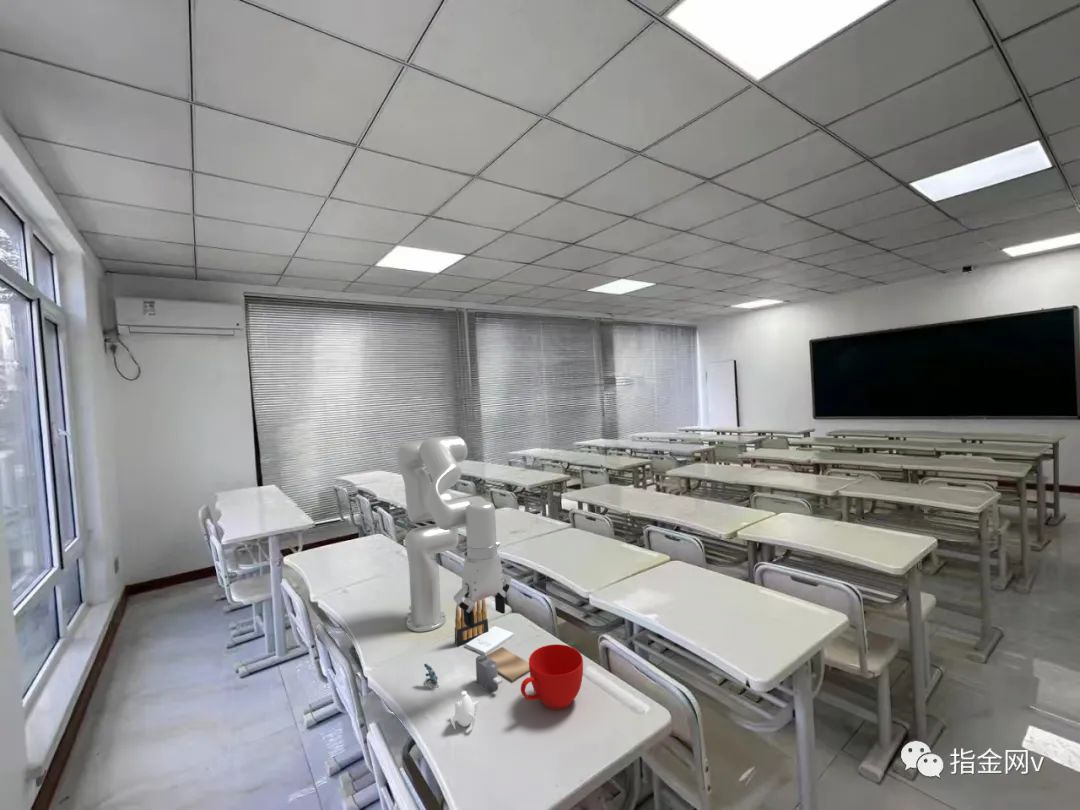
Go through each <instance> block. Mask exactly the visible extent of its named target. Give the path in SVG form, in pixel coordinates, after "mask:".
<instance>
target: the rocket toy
mask: <svg viewBox="0 0 1080 810" xmlns="http://www.w3.org/2000/svg"><path fill="white" fill-rule="evenodd" d="M457 699H458V700H456V702H454V708H455V710H454V716H452V717H451V718H450V722H451V724H452V726H453V729H454V730H456V723H458V725H460V726H461V727H463V728H466V727H468V726H469V725H470V724H472V725H471V729H473V728H474V725H475V721H476V714H477V711H478V707H479V701H478V700H477V701H475V702H473V699H472V698H471V697H470V695H469V694H468V692H467V690H463V691H461V692H460V695H459V697H458V698H457ZM455 721H456V723H455Z"/></svg>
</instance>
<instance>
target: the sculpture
mask: <svg viewBox="0 0 1080 810" xmlns="http://www.w3.org/2000/svg"><path fill="white" fill-rule="evenodd" d="M423 666H424V668H425V669H426V670H427V673H425V681H424V683H425V684H424V685H425V686H426V685H427V686H426V687H428V686H430V688H432V689H433V688H434V689H433V690H436V688H437V689H438V688H440V685H438V684H439V682H438V676H437V675H436V672H435V671H434V669H433V668H432V667H431V666H430V665H429V664H428V663H423Z"/></svg>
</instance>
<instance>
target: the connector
mask: <svg viewBox="0 0 1080 810" xmlns="http://www.w3.org/2000/svg"><path fill="white" fill-rule="evenodd" d="M475 671H476V673H475V674H476V676H475V677H476V684H477V686H480V687H481V688H482V689H484V690H485V691H486V692H488V693H495V692H496V691H497V690H498V689H499V685H500V684H502V683H503V680H502V679H501V678H500V677H498V676H499V675H498V674H499V673H497V663H496V662H495V661H493V660H492V659H490V658H489V657H487V656H486V655H482V654H480V655H478V656H476V658H475Z"/></svg>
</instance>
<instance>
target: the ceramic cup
mask: <svg viewBox="0 0 1080 810" xmlns="http://www.w3.org/2000/svg"><path fill="white" fill-rule="evenodd" d="M583 659H584V658H583V656H582V654H581V652H580V651H579V650H577V649H576V648H574V647H572V646H569V645H567V644H549V645H548V644H547V645H543V646H541V647H539V648H537V649H535V650H534V651H533V652H531V654H530V656H529V658H528V663H529V670H530V672H529V677H526V678H525V679H523V681H522V682H521V684H520V693H521V696H523V697H524V698H525V699H526V700H528V701H529V700H530V701H535V700H540V701H541V702H542V703H543V704H544V705H545V707H547V708H549V709H551V710H556V711H557V710H564V709H566V708H567V707H569V706H570V705H571V704H572V702H573V701H574V700H575V699H576V697H577V696H578V693H579V691H580V689H581V686H582V680H583V675H584V673H583V671H584V660H583ZM530 683H531V684H532V687H533V691H534V692H535V694H532V695H531V694H529V695H528V694H527V693H526V688H527V686H528V684H530Z"/></svg>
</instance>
